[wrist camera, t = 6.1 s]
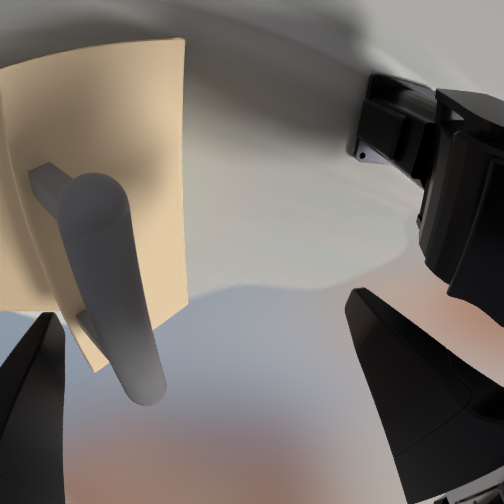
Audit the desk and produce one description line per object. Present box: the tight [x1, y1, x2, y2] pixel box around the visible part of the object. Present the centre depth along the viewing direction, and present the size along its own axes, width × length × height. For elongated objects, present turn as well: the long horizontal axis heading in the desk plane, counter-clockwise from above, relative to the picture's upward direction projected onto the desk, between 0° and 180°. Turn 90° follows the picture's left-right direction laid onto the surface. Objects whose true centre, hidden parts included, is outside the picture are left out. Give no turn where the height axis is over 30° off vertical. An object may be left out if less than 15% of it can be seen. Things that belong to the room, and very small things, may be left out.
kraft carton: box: [0, 37, 182, 311], centre depth 14 cm, size 14×14×6 cm
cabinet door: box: [0, 40, 188, 406], centre depth 10 cm, size 7×14×5 cm
